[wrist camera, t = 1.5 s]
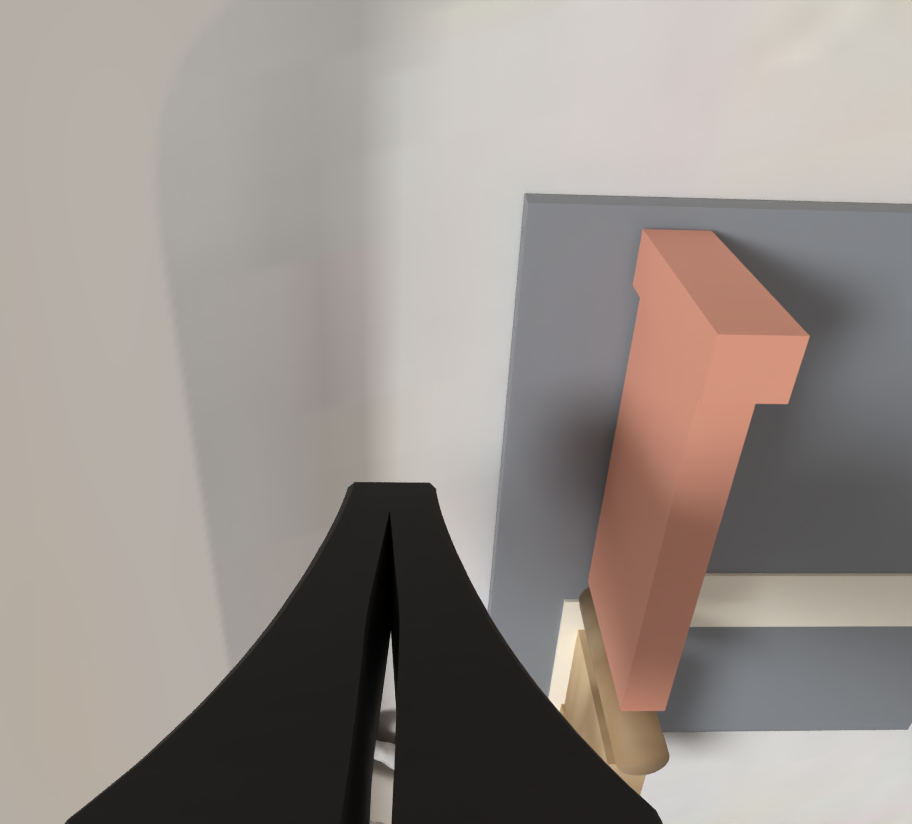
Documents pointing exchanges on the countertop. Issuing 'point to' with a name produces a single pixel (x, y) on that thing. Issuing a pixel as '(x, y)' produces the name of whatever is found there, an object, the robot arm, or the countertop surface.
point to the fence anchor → (609, 709)
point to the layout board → (758, 471)
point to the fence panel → (680, 446)
